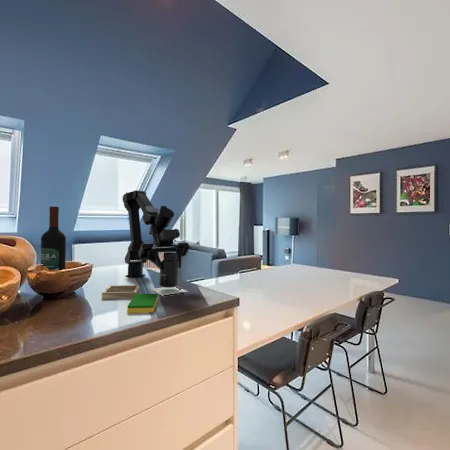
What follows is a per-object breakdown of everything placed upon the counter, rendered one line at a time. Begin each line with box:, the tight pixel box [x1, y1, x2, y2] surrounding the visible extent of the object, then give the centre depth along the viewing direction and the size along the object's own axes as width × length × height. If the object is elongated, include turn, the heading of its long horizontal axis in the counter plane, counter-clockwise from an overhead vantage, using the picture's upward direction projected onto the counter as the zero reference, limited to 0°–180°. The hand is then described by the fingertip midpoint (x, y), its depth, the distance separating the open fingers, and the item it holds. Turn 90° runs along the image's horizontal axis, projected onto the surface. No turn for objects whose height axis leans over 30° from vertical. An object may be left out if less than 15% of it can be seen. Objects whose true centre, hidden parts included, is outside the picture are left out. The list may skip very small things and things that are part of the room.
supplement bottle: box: [158, 252, 180, 288], centre depth 105 cm, size 7×7×12 cm
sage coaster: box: [150, 287, 189, 297], centre depth 105 cm, size 10×10×1 cm
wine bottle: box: [40, 206, 67, 270], centre depth 101 cm, size 8×8×30 cm
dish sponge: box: [126, 293, 159, 314], centre depth 87 cm, size 7×14×2 cm, turn 8°
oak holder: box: [101, 284, 141, 300], centre depth 99 cm, size 11×11×2 cm
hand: (171, 268), depth 104 cm, fingers closed on supplement bottle, 7 cm apart
